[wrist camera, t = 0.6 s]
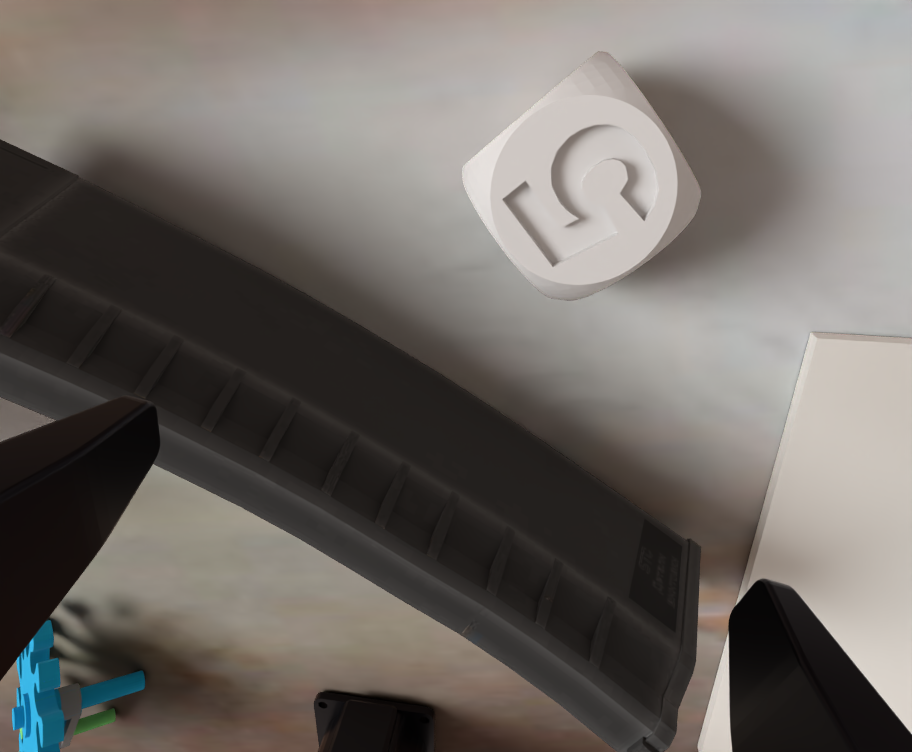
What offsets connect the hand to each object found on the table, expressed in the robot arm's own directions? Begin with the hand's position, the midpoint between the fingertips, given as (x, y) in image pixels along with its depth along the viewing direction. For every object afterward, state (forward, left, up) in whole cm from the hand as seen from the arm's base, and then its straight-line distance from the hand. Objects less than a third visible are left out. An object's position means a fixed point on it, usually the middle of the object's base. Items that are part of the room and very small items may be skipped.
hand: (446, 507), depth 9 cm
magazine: (-4, +6, -15) cm, 16 cm away
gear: (-24, +23, -15) cm, 36 cm away
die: (+3, -2, -15) cm, 15 cm away
